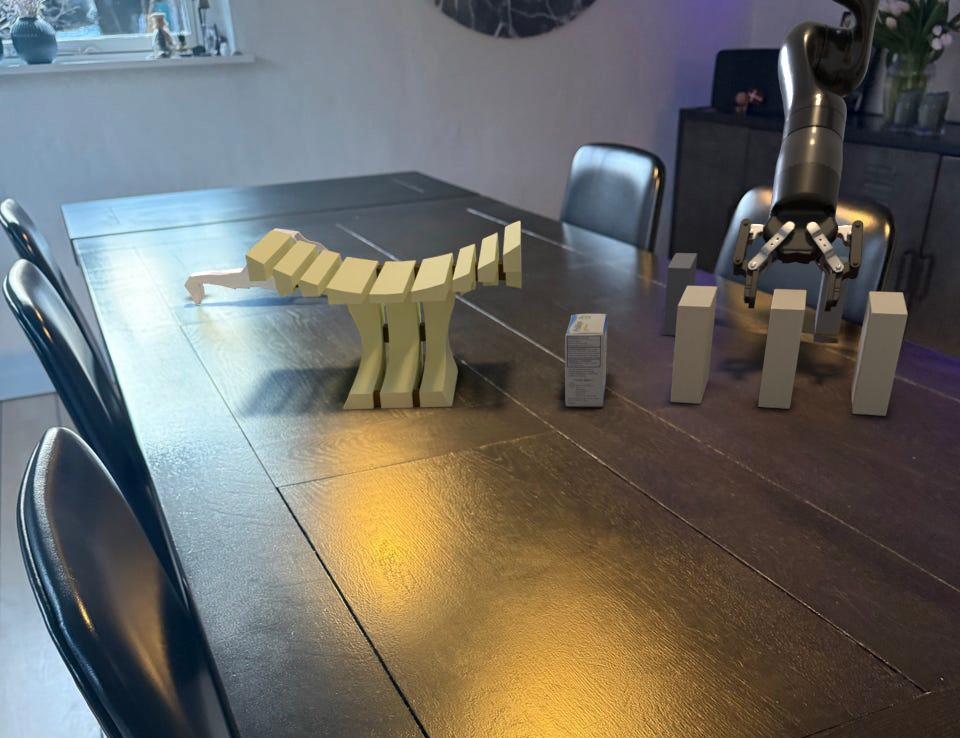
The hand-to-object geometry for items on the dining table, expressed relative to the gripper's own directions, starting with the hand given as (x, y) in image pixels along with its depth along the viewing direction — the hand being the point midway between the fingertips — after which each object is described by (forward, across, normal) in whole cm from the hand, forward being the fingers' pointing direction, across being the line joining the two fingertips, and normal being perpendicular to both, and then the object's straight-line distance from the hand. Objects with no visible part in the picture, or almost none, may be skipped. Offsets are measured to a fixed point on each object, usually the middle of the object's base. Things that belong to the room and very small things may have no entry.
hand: (789, 306), depth 108 cm
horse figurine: (-11, -81, +23) cm, 85 cm away
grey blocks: (-8, -5, +20) cm, 22 cm away
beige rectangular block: (+10, 0, +2) cm, 10 cm away
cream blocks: (+10, 0, +2) cm, 10 cm away
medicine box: (+13, -22, 0) cm, 26 cm away
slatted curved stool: (+13, -45, -1) cm, 47 cm away
